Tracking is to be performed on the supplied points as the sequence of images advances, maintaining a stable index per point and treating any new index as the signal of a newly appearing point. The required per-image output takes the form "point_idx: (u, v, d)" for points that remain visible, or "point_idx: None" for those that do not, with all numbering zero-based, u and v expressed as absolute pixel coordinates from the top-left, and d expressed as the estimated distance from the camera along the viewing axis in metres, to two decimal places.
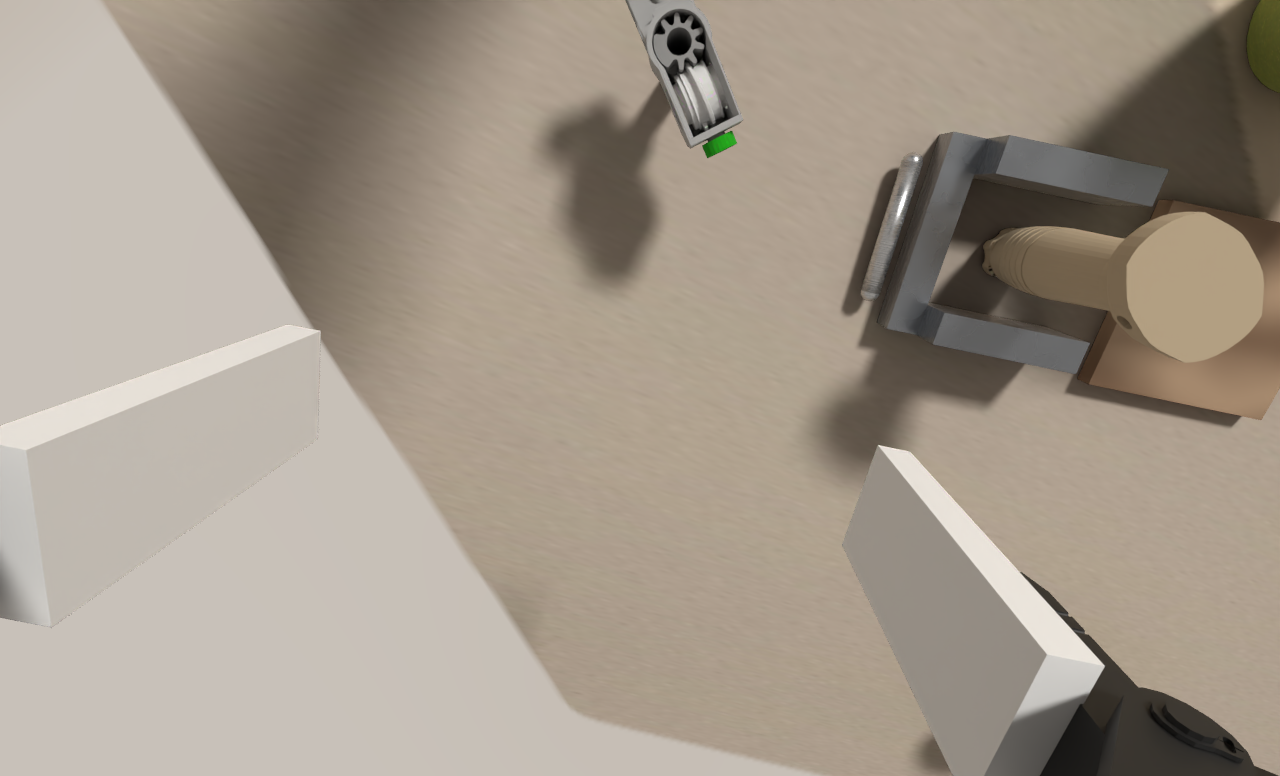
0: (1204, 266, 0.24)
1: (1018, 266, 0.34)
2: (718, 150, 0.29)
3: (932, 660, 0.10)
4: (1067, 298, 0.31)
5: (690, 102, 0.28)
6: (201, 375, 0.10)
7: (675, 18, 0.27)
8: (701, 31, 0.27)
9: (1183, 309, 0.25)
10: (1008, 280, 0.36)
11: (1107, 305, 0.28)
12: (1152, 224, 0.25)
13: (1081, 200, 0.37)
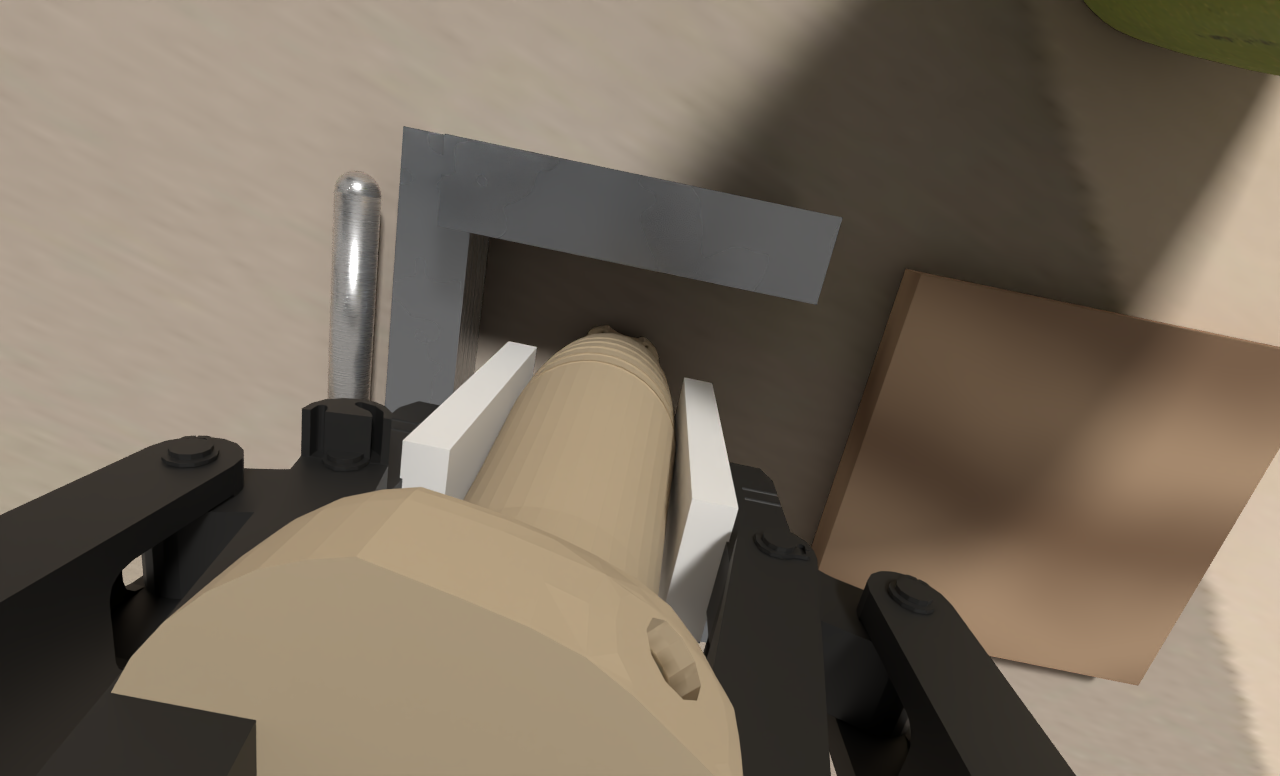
0: None
1: None
2: None
3: (667, 535, 0.12)
4: None
5: None
6: (496, 388, 0.12)
7: None
8: None
9: None
10: None
11: None
12: (242, 558, 0.05)
13: None
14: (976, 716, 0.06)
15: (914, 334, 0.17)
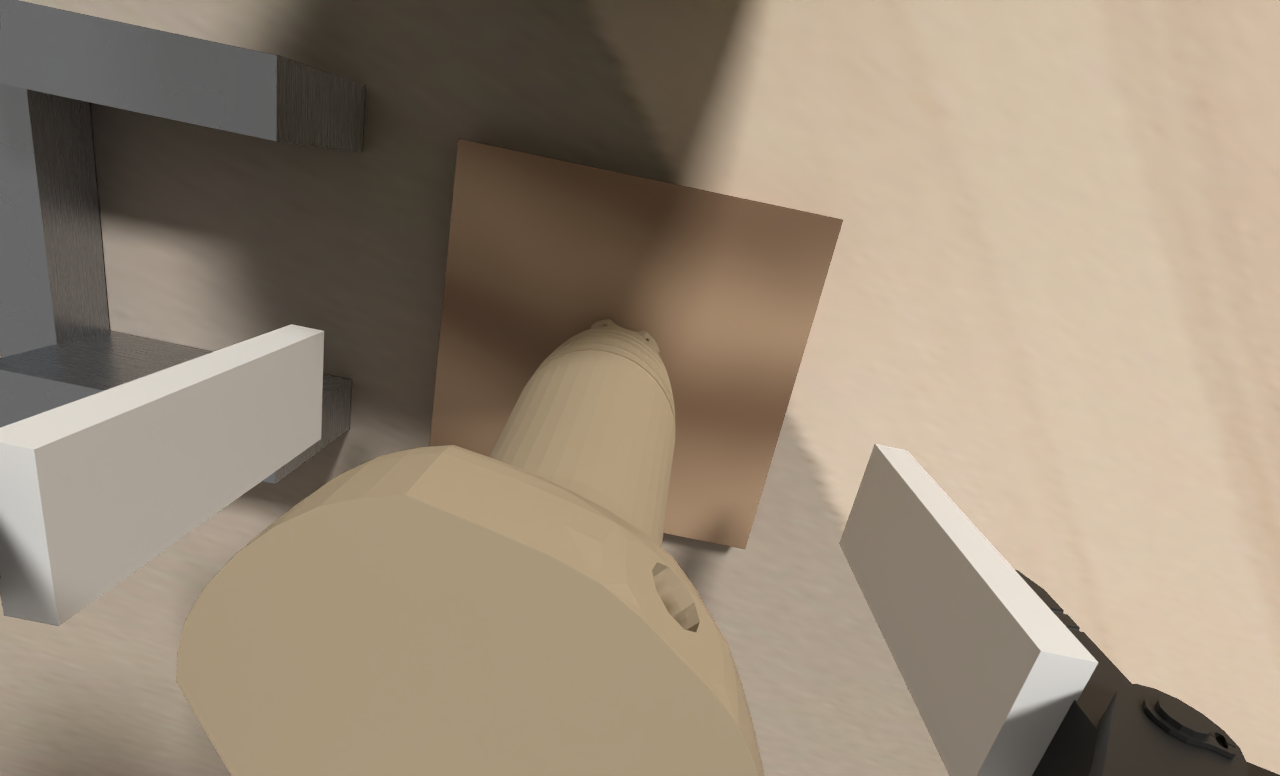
0: (491, 696, 0.06)
1: None
2: None
3: (928, 657, 0.10)
4: None
5: None
6: (206, 375, 0.10)
7: None
8: None
9: None
10: None
11: None
12: (298, 505, 0.06)
13: None
14: None
15: (465, 198, 0.19)
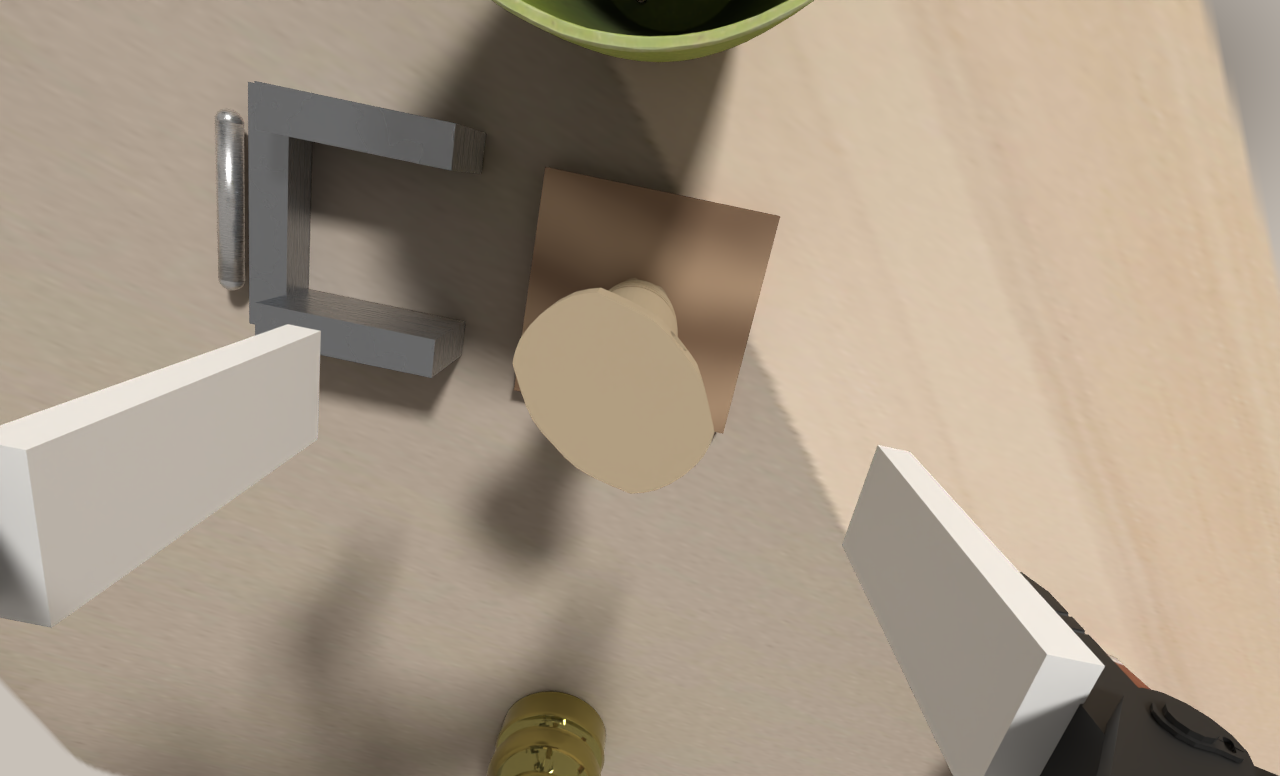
0: (618, 366, 0.17)
1: None
2: None
3: (932, 660, 0.10)
4: None
5: None
6: (201, 375, 0.10)
7: None
8: None
9: (607, 423, 0.18)
10: None
11: None
12: None
13: None
14: None
15: (547, 203, 0.30)
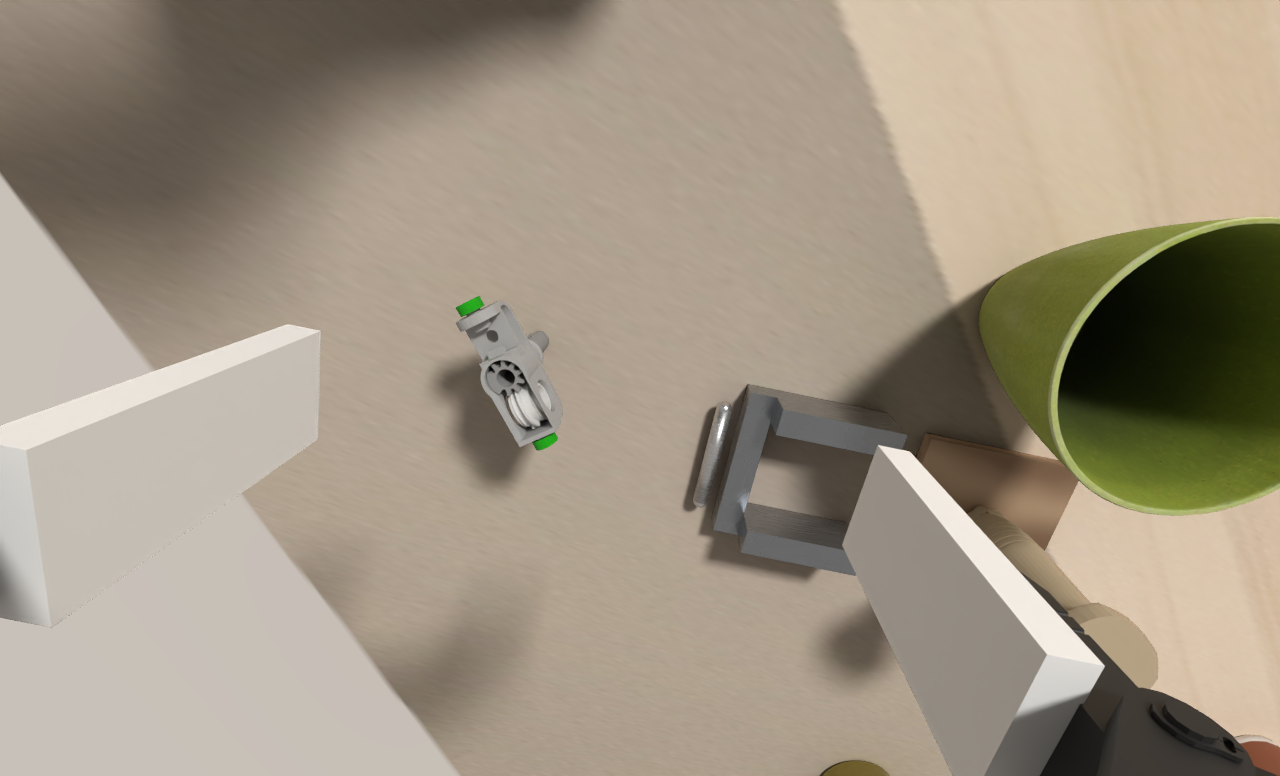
0: (1113, 648, 0.33)
1: None
2: (541, 448, 0.38)
3: (932, 660, 0.10)
4: None
5: (517, 417, 0.38)
6: (201, 375, 0.10)
7: (501, 363, 0.37)
8: (521, 372, 0.37)
9: None
10: None
11: None
12: (1076, 614, 0.34)
13: None
14: None
15: (929, 459, 0.46)
